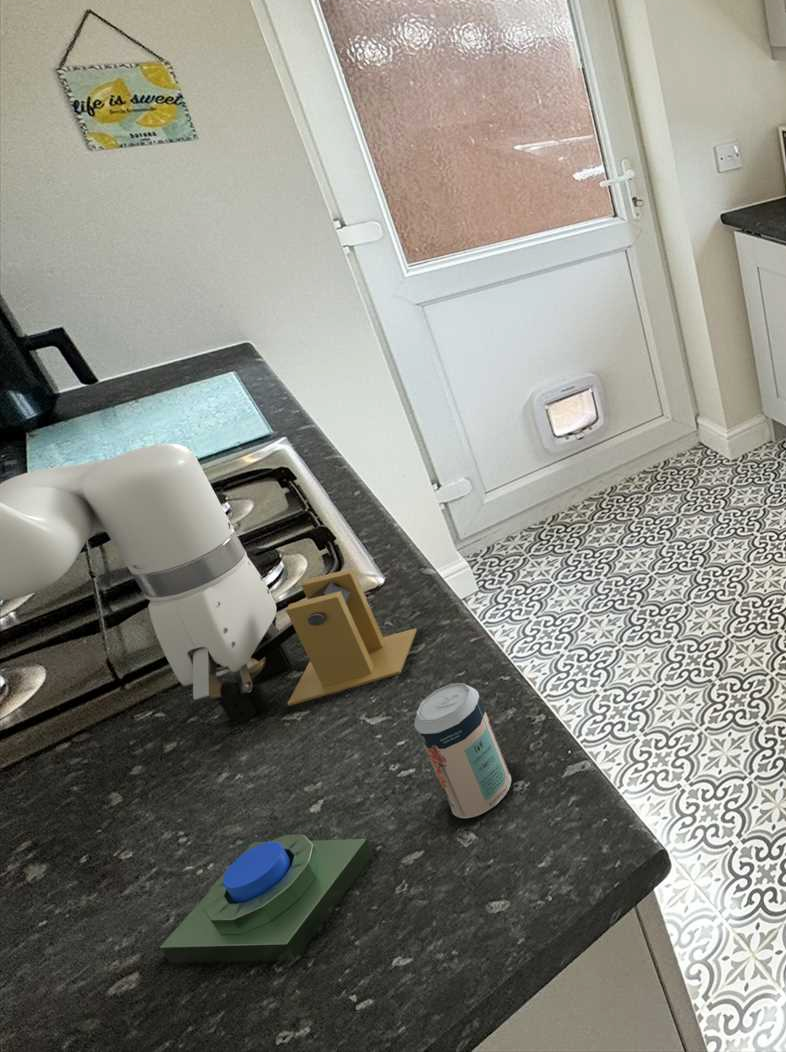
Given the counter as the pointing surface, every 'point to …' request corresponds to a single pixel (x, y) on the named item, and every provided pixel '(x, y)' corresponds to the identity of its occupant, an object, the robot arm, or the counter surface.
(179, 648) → the robot arm
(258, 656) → the black silver long piece
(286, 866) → the light button
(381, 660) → the bracket
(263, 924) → the button box
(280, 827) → the counter surface
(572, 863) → the counter surface
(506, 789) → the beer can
